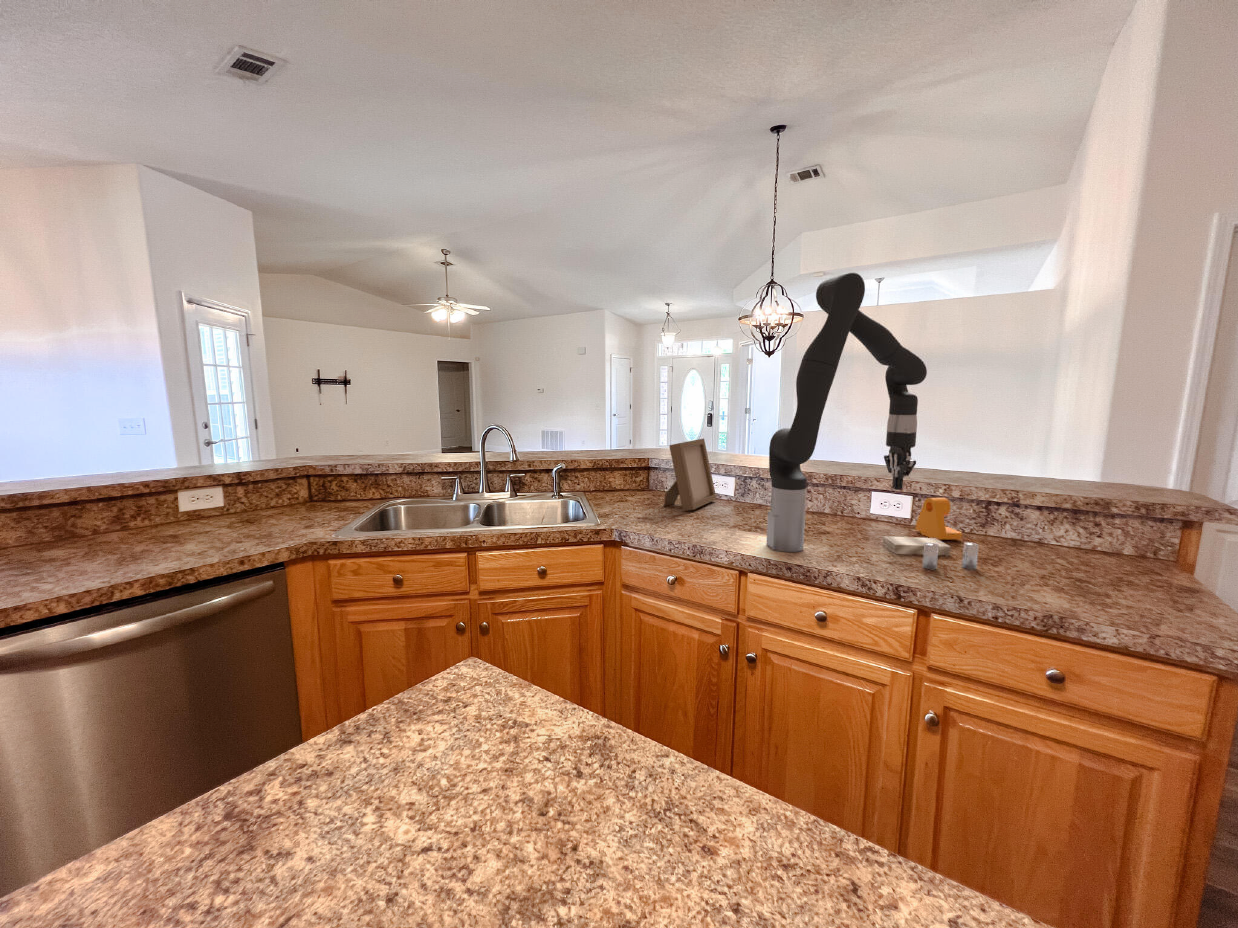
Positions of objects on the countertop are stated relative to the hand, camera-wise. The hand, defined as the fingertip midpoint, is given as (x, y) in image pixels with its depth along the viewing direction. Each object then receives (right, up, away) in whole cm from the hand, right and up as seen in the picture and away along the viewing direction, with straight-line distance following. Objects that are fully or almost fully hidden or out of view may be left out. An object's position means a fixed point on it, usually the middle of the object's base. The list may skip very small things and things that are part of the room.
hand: (897, 489), depth 148 cm
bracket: (+15, -15, +4) cm, 21 cm away
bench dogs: (0, -18, -23) cm, 29 cm away
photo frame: (-55, -9, +47) cm, 73 cm away
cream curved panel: (0, -17, -9) cm, 19 cm away
